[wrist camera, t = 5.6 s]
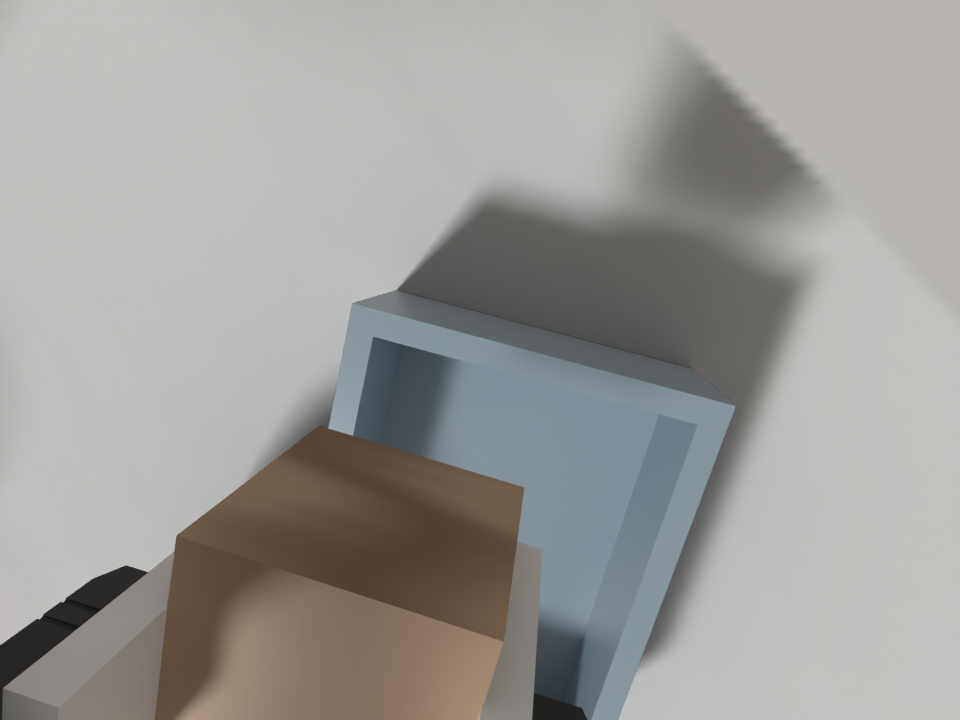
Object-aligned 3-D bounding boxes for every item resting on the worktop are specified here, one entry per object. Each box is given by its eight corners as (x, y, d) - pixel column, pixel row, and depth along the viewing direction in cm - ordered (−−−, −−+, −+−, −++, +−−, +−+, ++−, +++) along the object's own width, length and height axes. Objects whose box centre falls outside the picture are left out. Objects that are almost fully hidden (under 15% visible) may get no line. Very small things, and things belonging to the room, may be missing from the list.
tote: (325, 628, 30) (272, 717, 24) (396, 290, 25) (352, 303, 20) (575, 706, 29) (580, 818, 23) (693, 368, 25) (735, 406, 19)
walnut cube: (284, 603, 14) (141, 792, 9) (319, 425, 13) (176, 535, 8) (471, 664, 14) (424, 895, 9) (524, 487, 12) (503, 641, 8)
